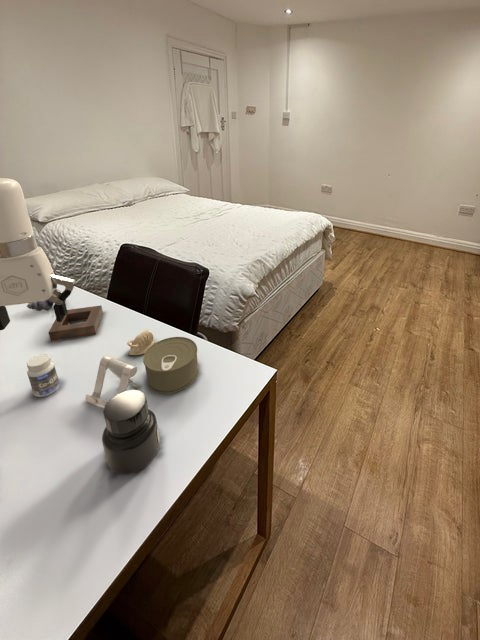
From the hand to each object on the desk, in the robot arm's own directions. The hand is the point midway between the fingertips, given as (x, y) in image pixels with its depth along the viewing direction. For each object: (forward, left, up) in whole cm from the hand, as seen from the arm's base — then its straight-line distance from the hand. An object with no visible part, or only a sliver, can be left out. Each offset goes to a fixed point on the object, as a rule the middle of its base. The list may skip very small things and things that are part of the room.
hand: (34, 322), depth 66 cm
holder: (-1, +25, -19) cm, 31 cm away
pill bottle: (-2, +1, -19) cm, 19 cm away
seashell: (-12, +38, -19) cm, 44 cm away
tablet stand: (+13, -6, -19) cm, 24 cm away
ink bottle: (+18, -21, -19) cm, 34 cm away
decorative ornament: (+17, +9, -19) cm, 27 cm away
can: (+25, -3, -19) cm, 32 cm away
